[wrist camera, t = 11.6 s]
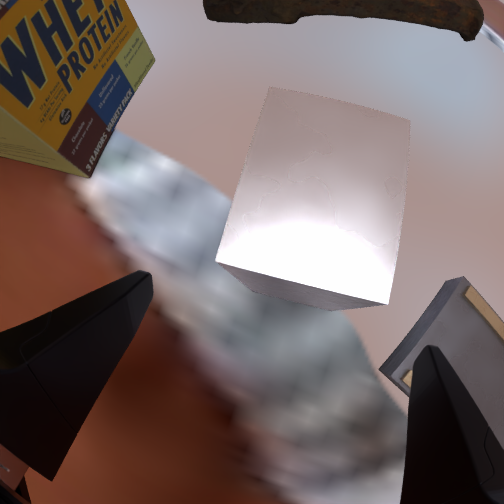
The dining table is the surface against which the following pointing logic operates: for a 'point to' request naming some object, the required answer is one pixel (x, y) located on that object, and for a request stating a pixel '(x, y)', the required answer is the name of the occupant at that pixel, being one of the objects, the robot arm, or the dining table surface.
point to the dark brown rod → (354, 12)
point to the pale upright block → (319, 203)
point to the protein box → (66, 78)
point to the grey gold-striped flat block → (459, 347)
